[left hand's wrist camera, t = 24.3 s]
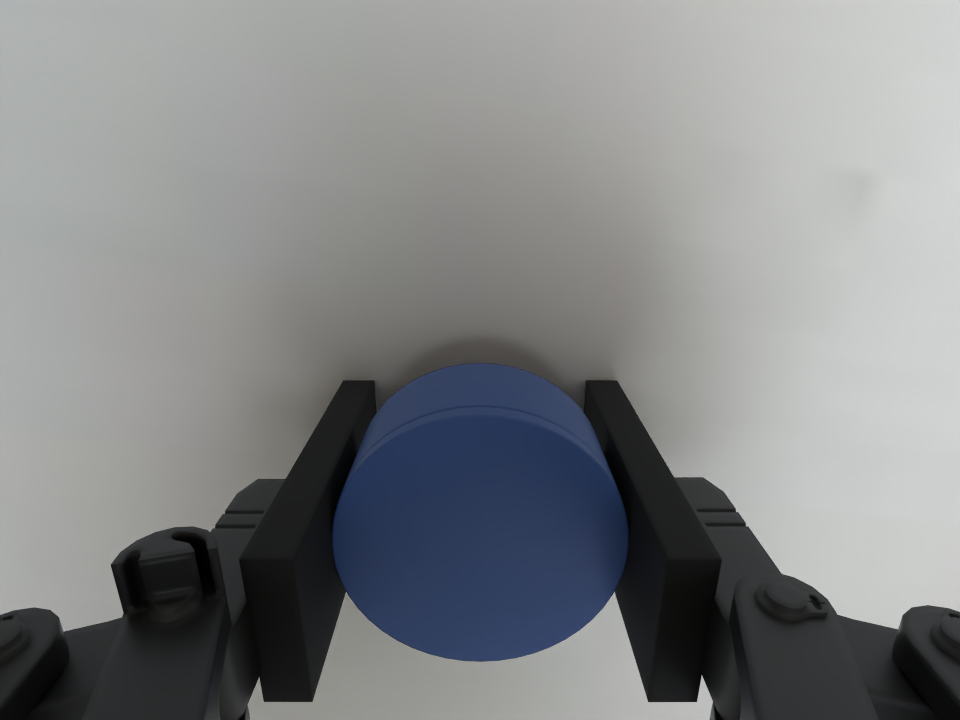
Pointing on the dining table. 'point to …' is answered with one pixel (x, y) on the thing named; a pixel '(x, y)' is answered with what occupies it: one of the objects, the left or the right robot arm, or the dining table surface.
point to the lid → (480, 516)
